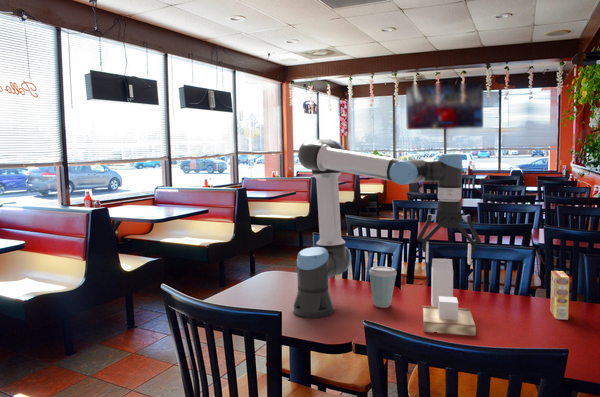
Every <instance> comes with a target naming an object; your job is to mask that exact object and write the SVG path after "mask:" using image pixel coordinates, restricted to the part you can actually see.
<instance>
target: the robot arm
mask: <svg viewBox="0 0 600 397" xmlns="http://www.w3.org/2000/svg"><path fill="white" fill-rule="evenodd" d="M297 157H298V161H299V163H300V165H301V166H302V167H303V168H304V169H307V170H311V175H312V176H313V177H314V178H315V180H316V195H317V197H316V198H317V211H318V215H317V216H318V231H319V239H318V240H317V241H316V243H315V244H316V245H315V246H311V247H307V248H303V249H301V250H300V251H299V252H298V254H297V257H296V266H297V268H296V269H297V272H296V273H297V292H296V296H295V299H294V303H293V313H294V314H295V315H297V316H298V317H302V318H308V319H310V318H311V319H312V318H313V319H317V318H318V319H319V318H324V317H328V316H330V315H332V314H333V313H334V303H333V300H332V297H331V294H330V289H329V284H330V283H329V279H331V278H334V277H336V276H340V275H341V274H343V273H344V272H346V271H347V270H348V269H349V267H350V265H351V263H352V254H351V251H350V249H349V248H348V247H347V246H346V241H345V239H343V238H342V230H341V228H342V227H341V226H342V225H341V212H340V211H341V208H340V206H341V205H340V193H339V192H340V191H339V190H340V188H339V177H340V175H341V174H342V173H347V174H353V175H359V176H364V177H367V178H368V177H369V178H375V179H380V180H385V181H389V182H390V181H391V182H392V183H393V182H394V183H395V184H398V185H404V186H405V185H409V184H415V183H416V184H417V183H421V182H422V183H426V182H427V183H437V199H438V201H437V211H436V214H431V213H428V214H427V218H426V221H425V223H424V225H423V227H422V228H421V230H420V232H419V234H418V236H417V238H416V240H417V241H418V242H421V243H422V247H421V248H422V253H425V263H429V245H430V244H429V240H430V239H431V238H432V237H433V236H434V234H436V233H437V232H438V230H441V228H444V229H448V228H449V229H455V228H457V229H458V230H459V232H460V233H461V234H462V235H463V236H464V237H465V238H466V240H467V241H468V242H469V243H467V265H471V264H472V255H474V254H475V253H476V252H475V251H476V245H478V244H481V243H482V240H481V238H480V237H479V235H478V233H477V230H476V228H475V226H474V224H473V223H472V216H471V215H470V214H466V215H462V201H460V200H462V186H463V185H462V184H463V183H462V180H463V169H464V168H463V157H462V155H461V154H460V153H440V154H439V155H438V158H437V159H401V158H394V157H389V156H382V155H381V156H380V155H376V154H370V153H369V154H368V153H364V152H363V153H362V152H357V151H351V150H346V149H345V148H344V146H343V145H342V144H341V143H340V142H339V141H337V140H332V139H327V138H326V139H318V138H317V139H315V138H313V139H311V138H310V139H309V140H308V139H307V140H306V141H304V142H302V144H301V145H300V147H299V149H298V153H297ZM435 219H436V221H437V223H436V224H435V225H434V226H433V228H432V229H431V230H430V231H429V232H428V233H427V234H426V235H425V233H426V231H427V230H428V228H429V226H430V224H431V222H433V221H434V220H435ZM463 220H464V222H465V223H467V225H468V227H469V229H470V232H471V234H472V235H473V237H474V239H473V238H472V237H471V236H470V234H469V233H468V232H467V230H465V229H464V228H463V226H462V225H461V224H460V223H461V222H462V221H463ZM424 235H425V236H424Z"/></svg>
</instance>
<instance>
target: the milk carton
mask: <svg viewBox="0 0 600 397" xmlns="http://www.w3.org/2000/svg"><path fill="white" fill-rule="evenodd" d="M453 268H454V267H453V259H451V258H432V260H431V284H430V286H431V288H430V289H431V292H430V293H431V294H430V298H431V299H430V300H431V302H430V304H431V305H430V306H433V307H438V298H439V296H444V297H454V269H453Z"/></svg>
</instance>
